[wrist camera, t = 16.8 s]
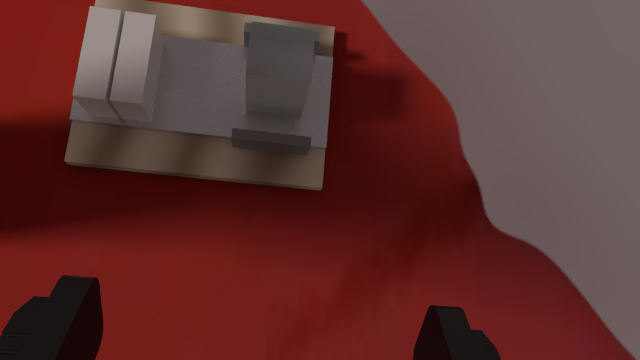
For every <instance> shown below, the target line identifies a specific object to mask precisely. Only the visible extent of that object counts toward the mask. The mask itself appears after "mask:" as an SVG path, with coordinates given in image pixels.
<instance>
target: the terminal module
mask: <svg viewBox="0 0 640 360" xmlns="http://www.w3.org/2000/svg"><path fill="white" fill-rule="evenodd" d="M315 31H316V29H309V28H301V27H294V26H286V25H278V24H271V23H263V22H256V21H251V30H250V39H249V48H248V57H247V66H246V110H249V111H258V112H267V113H276V114H284V115H293V116H302V113H303V109H304V106H305V103H306V99H307V96H308V92H309V89H310V85H311V81H312V69H313V56H314V43H315Z"/></svg>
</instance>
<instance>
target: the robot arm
mask: <svg viewBox="0 0 640 360" xmlns="http://www.w3.org/2000/svg"><path fill="white" fill-rule="evenodd" d="M102 334H103V315H102V305H101V295H100V285H99V280H98V279H97V278H93V277H80V276H67V275H63V276H62V277H61V278H60V279H59V280H58V282H57V284H56V286H55V287H54V289H53V291H52V293H51V295H50V296H49V297H37V296H34V297H33V298H32V299H30V300H29V301H28V302H27V303H25V304H24V305H23V306H22V307H21V308H19V309H18V310H17V311H16V312H14V314H13V315H12V317H11V319H10V320H9V322H8V324H7V325H6V327H5V328H4V330H3V332H2V336H1V337H0V360H95V358H96V355H97V353H98V350H99V347H100V344H101V340H102ZM413 360H501V359H500V356H499V354H498V351H497V349H496V347H495V346H494V345H493V344H492V342H491V341H490V340H489V339H488V338H487V337H486V335H485V334H484V333H483V332H482V331H481V330H471V329H470V326H469V323H468V321H467V318H466V315H465V313H464V311H463V309H462V308H460V307H448V306H435V305H431V306H430V307H429V308H428V311H427V313H426V316H425V319H424V322H423V324H422V327H421V330H420V333H419V336H418V338H417V341H416V344H415V348H414V355H413Z"/></svg>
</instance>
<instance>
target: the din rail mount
mask: <svg viewBox="0 0 640 360" xmlns="http://www.w3.org/2000/svg"><path fill="white" fill-rule="evenodd" d="M251 21H256V22H263V23H271V24H278V25H286V26H294V27H301V28H309V29H316V31H315V43H314V56H313V69H312V81H311V85H310V89H309V92H308V96H307V99H306V103H305V106H304V109H303V113H302V116H293V115H284V114H276V113H267V112H258V111H249V110H246V66H247V57H248V48H249V39H250V30H251ZM334 30H335V27H332V26H325V25H317V24H310V23H303V22H296V21H288V20H281V19H274V18H267V17H260V16H252V15H245V14H238V13H231V12H223V11H216V10H209V9H202V8H195V7H187V6H180V5H173V4H166V3H158V2H151V1H144V0H96V1H95V6H94V7H92V6H90V9H89V14H88V20H87V25H86V30H85V35H84V40H83V45H82V50H81V55H80V60H79V65H78V70H77V75H76V80H75V85H74V90H73V95H72V96H73V97H74V98H73V103H72V108H71V113H70V118H69V119H70V120H71V121H72V124H71V129H70V134H69V139H68V144H67V149H66V154H65V160H64V161H65V162H66V163H67V164H69V165H74V166H83V167H93V168H103V169H113V170H122V171H132V172H142V173H152V174H162V175H171V176H181V177H191V178H201V179H210V180H220V181H230V182H240V183H250V184H259V185H269V186H279V187H289V188H298V189H308V190H318V191H321V189H322V187H323V174H324V161H325V150H326V146H327V133H328V120H329V107H330V94H331V81H332V68H333V57H332V56H333V43H334Z"/></svg>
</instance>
